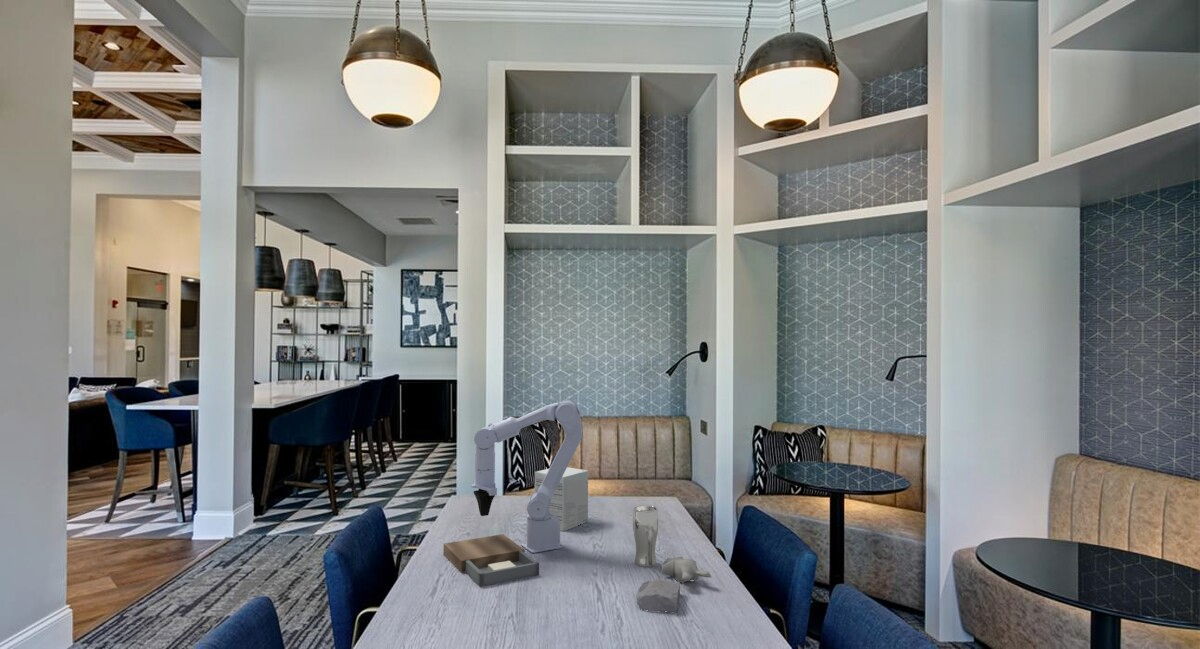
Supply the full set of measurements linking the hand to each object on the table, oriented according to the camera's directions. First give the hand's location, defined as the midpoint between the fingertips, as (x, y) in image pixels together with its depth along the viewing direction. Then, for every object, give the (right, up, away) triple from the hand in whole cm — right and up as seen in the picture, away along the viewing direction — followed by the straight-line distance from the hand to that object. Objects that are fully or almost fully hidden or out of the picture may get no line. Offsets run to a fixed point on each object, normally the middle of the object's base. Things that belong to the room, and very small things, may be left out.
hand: (484, 515), depth 180 cm
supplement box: (+21, -11, +25) cm, 34 cm away
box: (+9, -9, -21) cm, 24 cm away
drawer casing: (+1, -9, -9) cm, 13 cm away
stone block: (+48, -9, -37) cm, 61 cm away
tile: (+9, -6, -22) cm, 25 cm away
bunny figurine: (+56, -9, -23) cm, 61 cm away
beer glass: (+47, -10, -12) cm, 49 cm away
